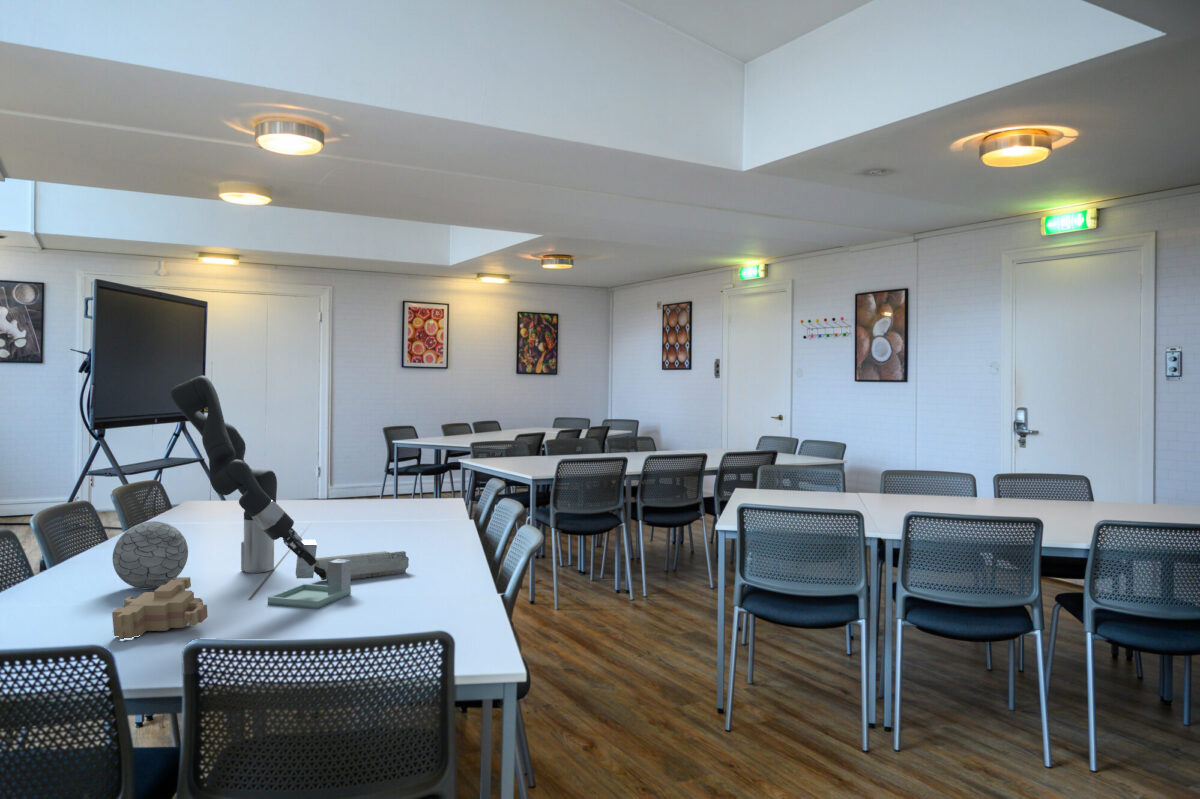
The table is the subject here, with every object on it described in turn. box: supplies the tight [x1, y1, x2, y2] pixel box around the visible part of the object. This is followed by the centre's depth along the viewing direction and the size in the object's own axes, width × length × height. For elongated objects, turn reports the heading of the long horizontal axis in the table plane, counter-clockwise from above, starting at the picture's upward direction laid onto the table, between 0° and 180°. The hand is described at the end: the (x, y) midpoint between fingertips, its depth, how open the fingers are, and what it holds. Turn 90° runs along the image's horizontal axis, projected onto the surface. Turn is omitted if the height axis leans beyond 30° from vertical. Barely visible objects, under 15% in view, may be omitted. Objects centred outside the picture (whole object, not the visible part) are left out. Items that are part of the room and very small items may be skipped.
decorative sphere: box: [112, 520, 189, 589], centre depth 239 cm, size 20×20×20 cm
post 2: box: [327, 559, 352, 595], centre depth 232 cm, size 4×4×10 cm
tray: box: [267, 583, 352, 610], centre depth 228 cm, size 16×16×2 cm
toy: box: [111, 576, 209, 640], centre depth 199 cm, size 10×20×20 cm
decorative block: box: [314, 550, 410, 581], centre depth 255 cm, size 8×30×8 cm, turn 124°
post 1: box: [295, 539, 318, 579], centre depth 231 cm, size 4×4×10 cm
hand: (312, 560), depth 232 cm, fingers closed on post 1, 4 cm apart
